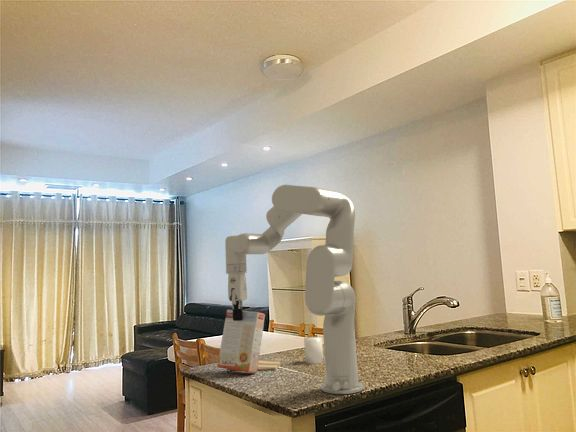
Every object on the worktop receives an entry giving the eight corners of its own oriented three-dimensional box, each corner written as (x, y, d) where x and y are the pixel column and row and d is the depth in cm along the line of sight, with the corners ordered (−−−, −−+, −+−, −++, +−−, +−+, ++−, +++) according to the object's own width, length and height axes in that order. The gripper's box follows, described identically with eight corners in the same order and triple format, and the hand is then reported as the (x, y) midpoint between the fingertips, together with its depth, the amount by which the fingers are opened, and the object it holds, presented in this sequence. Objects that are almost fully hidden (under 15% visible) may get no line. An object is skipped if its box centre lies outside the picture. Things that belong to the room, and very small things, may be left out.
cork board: (275, 370, 158) (275, 368, 158) (227, 371, 160) (227, 369, 160) (282, 361, 173) (282, 359, 173) (238, 362, 176) (238, 360, 176)
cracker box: (257, 373, 155) (266, 313, 161) (248, 373, 150) (257, 311, 156) (226, 367, 162) (235, 311, 168) (216, 367, 157) (226, 308, 163)
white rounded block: (322, 363, 166) (321, 339, 167) (304, 364, 167) (303, 339, 168) (323, 359, 172) (322, 336, 174) (306, 360, 173) (305, 337, 175)
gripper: (241, 268, 152) (242, 322, 149) (250, 268, 166) (252, 317, 164) (220, 269, 153) (221, 323, 150) (231, 269, 168) (233, 318, 165)
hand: (237, 320), depth 157 cm, fingers closed
